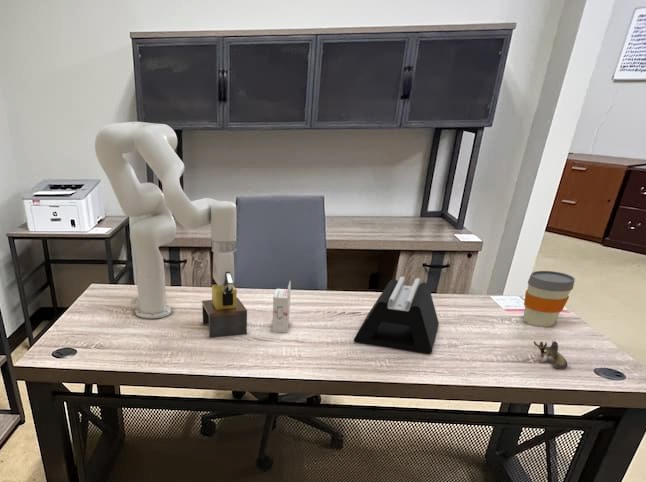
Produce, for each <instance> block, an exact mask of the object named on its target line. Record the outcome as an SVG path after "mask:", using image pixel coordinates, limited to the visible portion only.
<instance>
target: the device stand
mask: <svg viewBox="0 0 646 482" xmlns="http://www.w3.org/2000/svg"><path fill="white" fill-rule="evenodd" d="M405 280H406V278H405V276H400V277H399V279H395V278H392V279H391V280H390V281H388V283H387V284H386V286H385V287H384V289H383V291H382V292H381V294H380V295H379V296H378V298H377V300H376V301H375V303H374V305H373V306H372V308H371V309H370V310H369V312H368V313H367V315H366V317H365V319H364V320H363V322H362V324H361V326H360V328H359V330H358V331H357V333H356V335H355V336H354V338H353V342H355V344H356V343H357V344H363V345H370V346H376V347H383V348H388V349H393V350H400V351H408V352H413V353H418V354H425V355H426V354H427V355H431V354H432V353H433V349H434V345H435V341H436V338H437V334H438V328H439V324H440V323H439V319H438V315H437V311H436V307H435V304H434V300H433V297H432V293H431V288H430V285H429V284H428V283H427V282H421V283H420V281H421V279H420V278H419V277H417V278H414V281H413V283H412V285H405V284H404V283H405Z"/></svg>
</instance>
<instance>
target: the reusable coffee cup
mask: <svg viewBox="0 0 646 482" xmlns="http://www.w3.org/2000/svg"><path fill="white" fill-rule="evenodd" d="M575 279H576V278H575V277H574V276H572V275H571V274H567V273H564V272H559V271H552V270H551V271H550V270H536V271H533V272H531V273H530V276H529V278H528V280H527V284H528V285H527V289H526V290H525V294H524V302H523V305H524V311H523V321H524V322H525V323H526V324H529V325H532V326H535V327H545V328H546V327H552V326H554V325H555V323H556V321H557V319H558V317H559V315H560V313H561V312H562V311H563V310H564V308H565V306H566V304H567V303H568V300H569V298H570V296H569V295H570V293H571V291H572V290H573V289H574V286H575Z"/></svg>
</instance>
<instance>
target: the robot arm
mask: <svg viewBox="0 0 646 482" xmlns="http://www.w3.org/2000/svg"><path fill="white" fill-rule="evenodd" d="M177 147H178V137H177V134H176V132H175V130H174V129H173V128H172V127H171V126H169V125H168V124H165V123H155V122H154V123H153V122H146V121H145V122H144V121H125V122H114V123H109V124H106V125H104V126H102V127H101V128H100V129H99V130H98V132H97V134H96V136H95V141H94V150H95V155H96V158H97V160H98V162H99V164H100V167H101V168H102V170H103V172H104V173H105V175H106V177H107V179H108V181H109V183H110V186H111V188H112V190H113V192H114V195H115V196H116V199H117V201H118V204H119V207H120V208H121V210H122V212H123V214H124V215H125V216H126V217H127V218H128V217H129V218H138V217H142V216H145V215H146V217H147V218H143V219H140V220H138V221H136V222H135V223H134V224H133V225H132V226H131V228H130V229H129V230H130V231H129V241H130V244H131V247H132V251H133V256H134V257H133V258H134V265H135V275H136V284H137V285H136V286H137V296H138V297H136V296H133V297H132V298H131V301H130V304H131V305H132V306H133V305H135V306H136V308H135V309H134V313H135V315H136V316H137V317H139V318H141V319H148V320H149V319H151V320H152V319H153V320H154V319H160V318H164V317H168V316H169V315H170V314H171V313H172V307H171V306H170V305H169V304H167V290H166V275H165V273H166V272H165V263H164V262H165V261H164V258H163V255H162V253H161V251H160V247H161V246H164V245H167V244H169V243H171V242H172V241H174V240H175V238H176V236H177V232H178V231H177V230H178V229H177V224H176V221H177V222H178V223H179V225H181V227H183V228H184V229H187V230H196V229H199V228H201V227H204V226H209V225H210V239H211V240H210V241H211V242H210V243H211V245H210V246H211V252H212V253H213V254H212V278H213V280H214V282H215V284H218V285H219V286H221V285H223V292H224V293H223V306H230V305H233V287H232V285H233V286H234V284H235V257H234V253H235V252H236V251H237V204H236V203H235V202H234V201H230V200H218V199H215V198H210V197H203V198H199V199H196V200H190V199H189V198H188V196H187V194H186V193H185V191H184V189H183V188H182V185H181V182H180V178H181V177H182V175H183V174H184V171H185V169H186V168H185V163H184V162H183V161H182V159H181V158H180V157H179V155H178V154H177V153H176V149H177ZM136 152H137V153H139V155H140V156H141V157H142V158H143V160H144V161H145V162H146V164H147V165H148V167H149V168H150V169H151V170H152V172H153V173H154V174H155V176H156V177H157V178H158V180H159V181H160V183H161V185H162V190H161V188H160V187H159V186H158V185H157V184H155V183H153V182H148V181H147V182H140V180H139V179H138V176H137V174H136V172H135V169H134V168H133V166H132V165H131V164H130V162H129V161H127V159H126V158H125V157H124V156H123V154H130V153H136ZM175 220H176V221H175ZM225 286H228V287H226V288H225Z"/></svg>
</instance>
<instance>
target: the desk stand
mask: <svg viewBox="0 0 646 482" xmlns="http://www.w3.org/2000/svg"><path fill="white" fill-rule="evenodd" d="M201 306H202V307H201V309H202V312H201V314H202V325H208V337H209V338H210V339H211V338H220V337H230V336H232V337H233V336H239V335H240V336H241V335H247V334H248V333H247V332H248V309H247V308H246V307H245V306H244V304H243V303H242V301H241V300H240V298H239V297H237V298H236V308H230V309H219V310H216V308H215V307H214V305H213V303H212V299H207V300H206V299H205V300H202V301H201Z"/></svg>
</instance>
